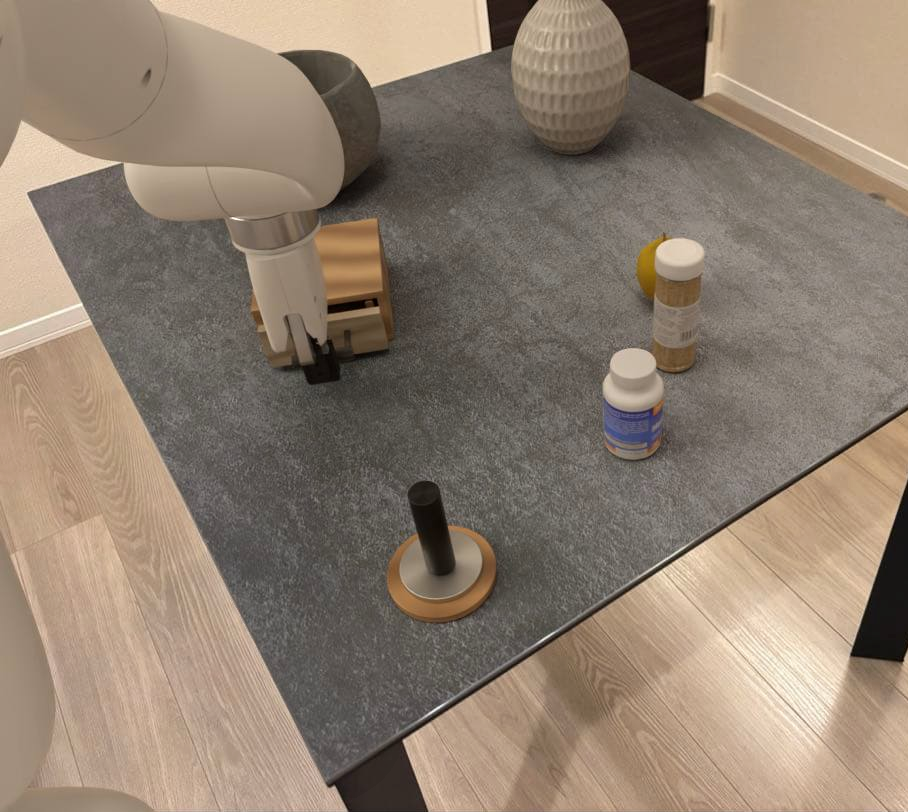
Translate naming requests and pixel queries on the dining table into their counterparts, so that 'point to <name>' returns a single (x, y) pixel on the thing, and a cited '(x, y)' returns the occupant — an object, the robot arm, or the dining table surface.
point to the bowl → (344, 104)
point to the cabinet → (352, 267)
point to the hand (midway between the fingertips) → (324, 377)
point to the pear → (649, 267)
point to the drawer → (339, 333)
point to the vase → (570, 73)
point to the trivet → (448, 609)
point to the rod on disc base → (437, 551)
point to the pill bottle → (633, 405)
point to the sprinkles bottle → (677, 303)
